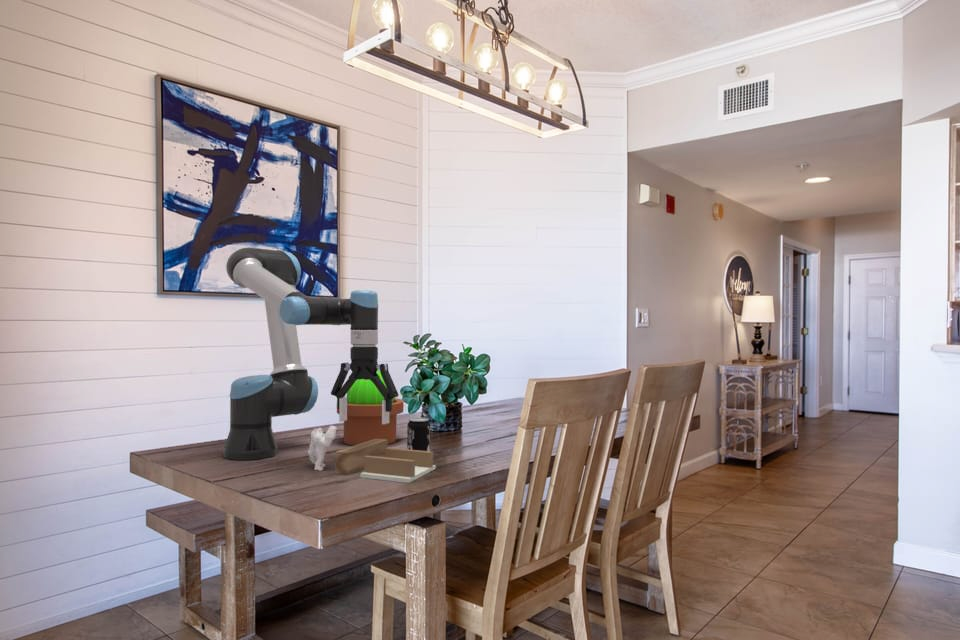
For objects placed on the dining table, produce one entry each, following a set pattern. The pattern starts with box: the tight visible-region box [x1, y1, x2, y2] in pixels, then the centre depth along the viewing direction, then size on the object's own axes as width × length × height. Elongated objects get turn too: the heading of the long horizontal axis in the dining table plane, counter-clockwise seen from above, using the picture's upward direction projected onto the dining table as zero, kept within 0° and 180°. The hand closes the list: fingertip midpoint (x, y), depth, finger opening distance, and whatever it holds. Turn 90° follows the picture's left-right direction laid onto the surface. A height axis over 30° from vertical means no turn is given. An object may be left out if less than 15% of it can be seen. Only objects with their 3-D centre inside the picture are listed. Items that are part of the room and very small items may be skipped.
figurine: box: [307, 425, 338, 472], centre depth 166 cm, size 10×5×12 cm, turn 52°
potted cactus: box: [336, 369, 405, 446], centre depth 204 cm, size 22×22×25 cm
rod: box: [335, 439, 389, 476], centre depth 169 cm, size 4×20×6 cm, turn 158°
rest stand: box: [359, 447, 437, 484], centre depth 162 cm, size 14×16×5 cm
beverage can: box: [406, 417, 431, 452], centre depth 177 cm, size 7×7×12 cm
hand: (364, 422), depth 169 cm, fingers open, 13 cm apart
